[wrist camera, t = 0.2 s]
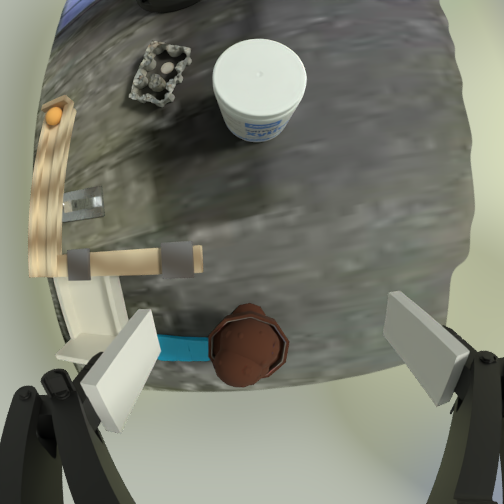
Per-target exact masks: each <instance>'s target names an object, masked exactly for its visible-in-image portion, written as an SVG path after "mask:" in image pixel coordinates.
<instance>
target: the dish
mask: <svg viewBox="0 0 504 504" xmlns="http://www.w3.org/2000/svg"><path fill="white" fill-rule="evenodd" d="M53 279H54V283H55V287H56V291H57V295H58V299H59V302H60V306H61V309H62V313H63V316H64V319H65V322H66V325H67V329H68V332H69V334H70V337H71V339H70V340H69V341H68V342H67V343H66V344H65V345H64V346H63V347H62V348H61V349H60V350H59V351H58V352H57V353H56V354H55V355H56V358H57V359H60V360H65V361H70V362H75V363H81V364H87V363H88V362H89V360H90V359H91V358H92V357H93V356H94V355H96V354H97V353H99V352H104V351H105V350H106V349H107V347H108V346H109V345H110V344H111V342H112V341H113V340H114V339H115V337H116V336H117V335H118V334H119V332H120V331H121V330H122V329H123V327H124V326H125V325H126V324H127V323H128V321H129V320H128V316H127V312H126V307H125V303H124V298H123V294H122V289H121V284H120V279H119V276H91V280H89V281H68V277H53Z"/></svg>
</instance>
